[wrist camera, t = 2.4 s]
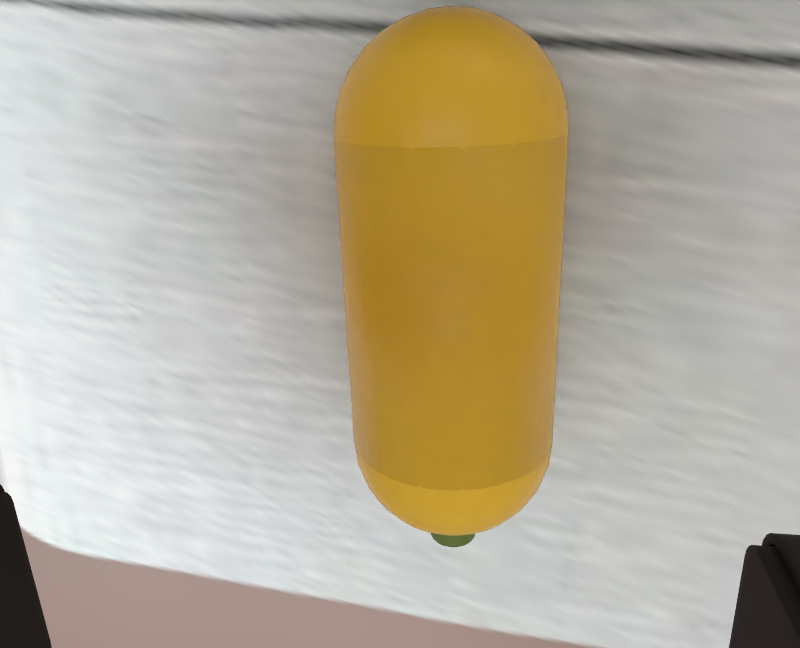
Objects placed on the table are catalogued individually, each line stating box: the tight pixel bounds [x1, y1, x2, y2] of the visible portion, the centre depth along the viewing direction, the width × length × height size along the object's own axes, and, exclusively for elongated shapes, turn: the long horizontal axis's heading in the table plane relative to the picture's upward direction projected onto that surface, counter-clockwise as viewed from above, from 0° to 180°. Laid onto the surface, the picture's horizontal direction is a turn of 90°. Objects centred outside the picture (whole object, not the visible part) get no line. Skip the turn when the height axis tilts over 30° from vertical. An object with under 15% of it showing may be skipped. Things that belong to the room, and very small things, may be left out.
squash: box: [334, 6, 568, 547], centre depth 19 cm, size 15×6×6 cm, turn 2°
